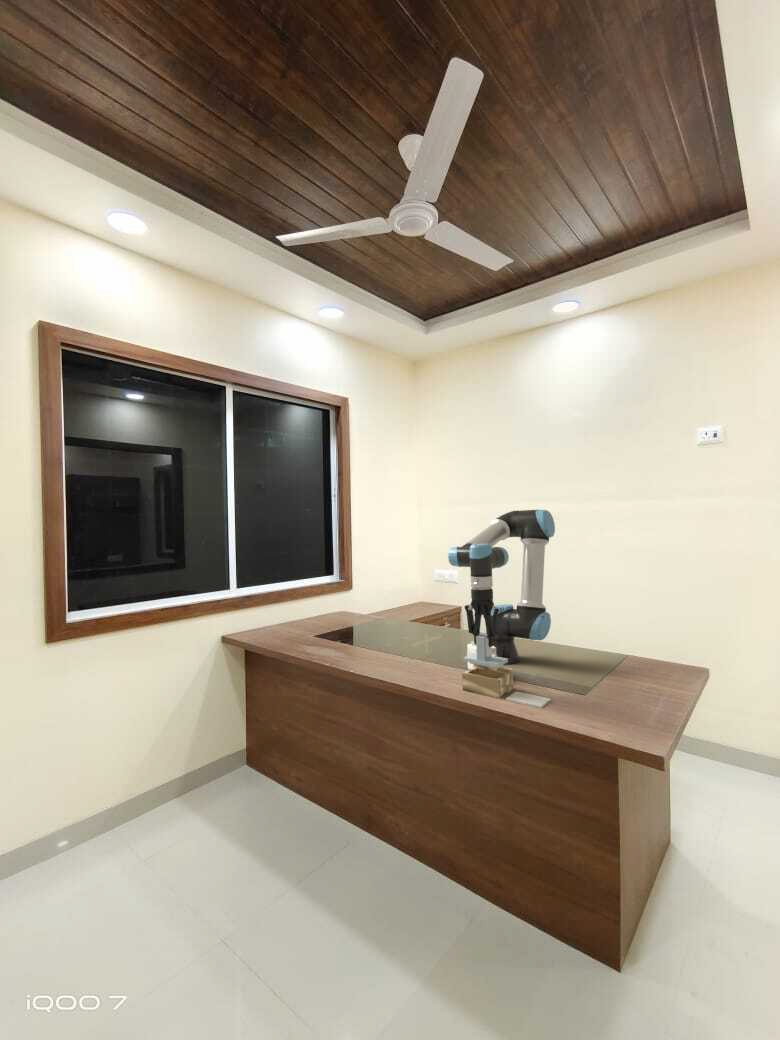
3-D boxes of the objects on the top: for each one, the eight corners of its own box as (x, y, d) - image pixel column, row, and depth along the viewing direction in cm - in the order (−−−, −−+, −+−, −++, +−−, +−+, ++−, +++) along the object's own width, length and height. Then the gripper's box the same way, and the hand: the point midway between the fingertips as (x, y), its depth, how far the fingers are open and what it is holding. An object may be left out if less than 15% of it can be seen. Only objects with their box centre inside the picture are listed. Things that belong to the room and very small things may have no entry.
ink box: (476, 680, 179) (475, 644, 179) (467, 673, 187) (466, 639, 187) (497, 678, 181) (496, 642, 181) (487, 671, 189) (486, 637, 189)
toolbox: (477, 681, 177) (477, 662, 177) (513, 689, 168) (512, 668, 168) (462, 690, 169) (462, 669, 169) (499, 698, 160) (498, 676, 160)
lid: (476, 657, 176) (475, 629, 176) (510, 663, 168) (509, 634, 168) (463, 663, 169) (462, 635, 169) (498, 670, 160) (497, 640, 161)
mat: (516, 693, 164) (516, 691, 164) (550, 700, 157) (550, 698, 157) (506, 700, 158) (506, 698, 158) (541, 708, 151) (541, 706, 151)
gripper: (456, 587, 169) (458, 654, 169) (498, 591, 159) (500, 661, 159) (467, 585, 175) (469, 648, 175) (507, 587, 165) (510, 655, 165)
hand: (484, 654), depth 167 cm, fingers closed on lid, 3 cm apart
